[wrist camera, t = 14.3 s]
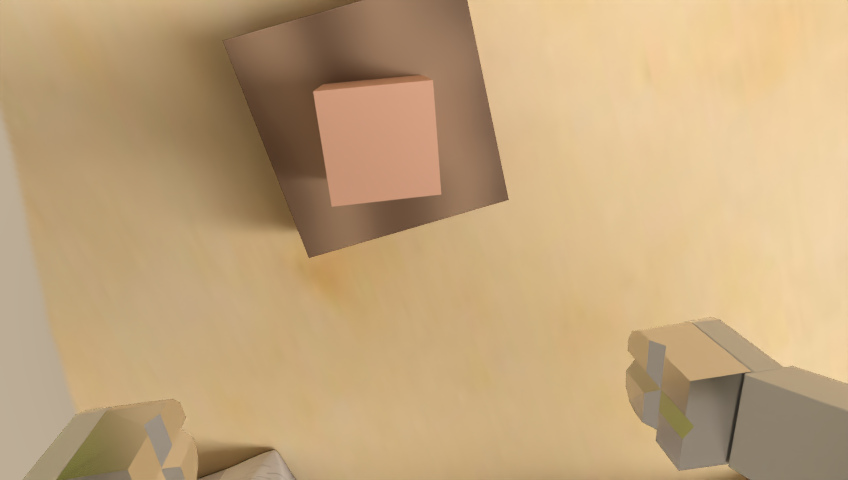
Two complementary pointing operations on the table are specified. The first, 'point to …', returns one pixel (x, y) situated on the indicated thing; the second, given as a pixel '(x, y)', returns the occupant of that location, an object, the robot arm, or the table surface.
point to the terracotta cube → (379, 139)
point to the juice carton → (256, 469)
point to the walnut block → (364, 60)
